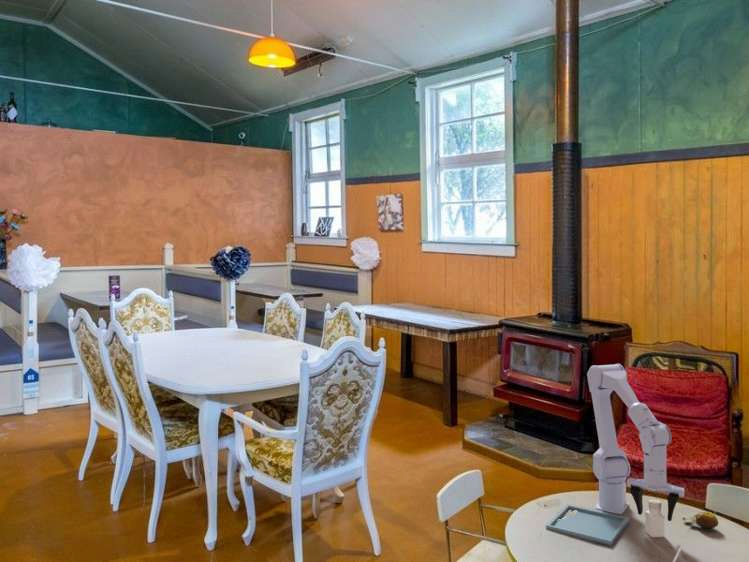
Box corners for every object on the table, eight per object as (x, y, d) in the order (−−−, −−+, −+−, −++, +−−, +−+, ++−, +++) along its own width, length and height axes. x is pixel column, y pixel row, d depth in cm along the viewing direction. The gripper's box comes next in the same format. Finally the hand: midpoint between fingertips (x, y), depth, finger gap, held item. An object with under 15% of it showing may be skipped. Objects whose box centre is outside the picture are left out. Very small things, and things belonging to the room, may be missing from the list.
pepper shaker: (644, 531, 179) (644, 498, 178) (658, 531, 179) (658, 498, 178) (650, 538, 175) (651, 504, 174) (665, 538, 175) (665, 504, 174)
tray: (567, 509, 195) (567, 504, 195) (628, 523, 185) (628, 517, 185) (546, 530, 181) (546, 525, 180) (611, 546, 170) (611, 541, 170)
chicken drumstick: (698, 515, 188) (699, 503, 188) (725, 526, 181) (726, 514, 181) (680, 520, 185) (680, 508, 184) (706, 532, 177) (707, 519, 177)
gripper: (624, 467, 177) (624, 515, 177) (680, 477, 168) (680, 527, 169) (630, 460, 183) (630, 507, 183) (685, 469, 174) (685, 518, 175)
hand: (654, 516), depth 176 cm, fingers open, 7 cm apart
